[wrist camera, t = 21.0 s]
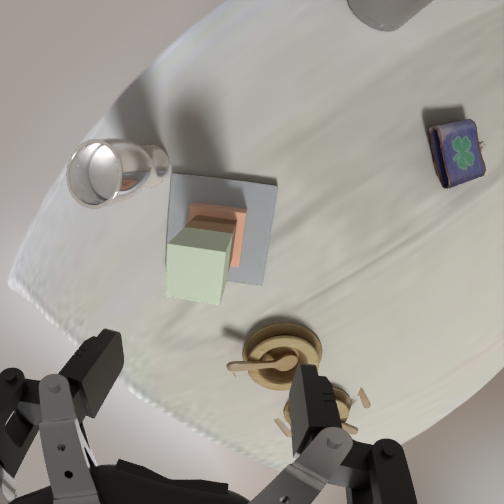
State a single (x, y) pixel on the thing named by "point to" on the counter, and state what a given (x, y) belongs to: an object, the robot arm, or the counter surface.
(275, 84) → the counter surface
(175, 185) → the plate
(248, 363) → the tableware set
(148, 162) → the beer glass
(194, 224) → the block
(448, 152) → the purple clover wallet
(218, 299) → the block
